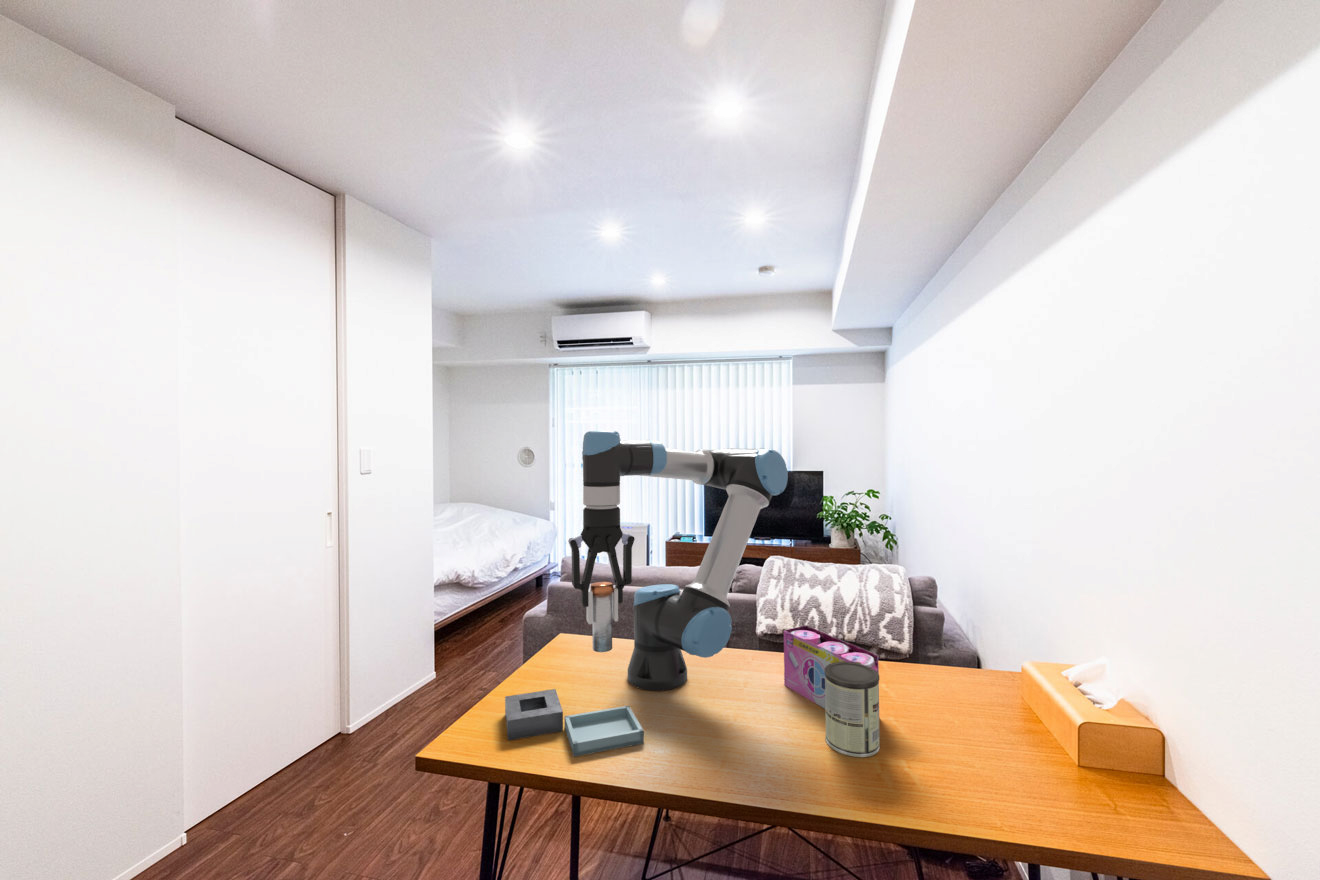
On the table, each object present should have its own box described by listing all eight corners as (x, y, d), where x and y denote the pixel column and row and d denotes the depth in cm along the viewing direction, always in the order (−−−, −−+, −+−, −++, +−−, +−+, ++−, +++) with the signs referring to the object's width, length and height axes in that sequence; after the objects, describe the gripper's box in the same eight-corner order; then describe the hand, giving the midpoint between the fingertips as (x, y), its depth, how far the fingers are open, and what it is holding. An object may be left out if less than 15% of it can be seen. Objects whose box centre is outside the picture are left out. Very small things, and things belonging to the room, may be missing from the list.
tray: (629, 716, 119) (629, 705, 119) (643, 743, 108) (643, 730, 108) (564, 728, 114) (564, 716, 114) (573, 756, 104) (573, 743, 104)
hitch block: (555, 706, 123) (555, 688, 123) (562, 730, 113) (562, 711, 113) (505, 714, 120) (505, 696, 120) (508, 740, 110) (507, 720, 110)
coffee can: (825, 725, 115) (825, 658, 115) (878, 734, 111) (878, 665, 111) (823, 752, 105) (823, 679, 105) (881, 762, 101) (880, 686, 101)
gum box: (886, 721, 116) (885, 657, 116) (859, 730, 113) (859, 665, 113) (807, 678, 137) (806, 624, 137) (782, 685, 134) (782, 629, 134)
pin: (610, 643, 114) (610, 581, 114) (616, 651, 110) (615, 586, 110) (589, 645, 113) (588, 582, 113) (593, 654, 108) (593, 588, 108)
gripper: (637, 502, 118) (638, 610, 118) (555, 506, 112) (556, 619, 112) (648, 506, 111) (648, 621, 110) (561, 510, 105) (561, 631, 105)
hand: (602, 620), depth 111 cm, fingers closed on pin, 4 cm apart
